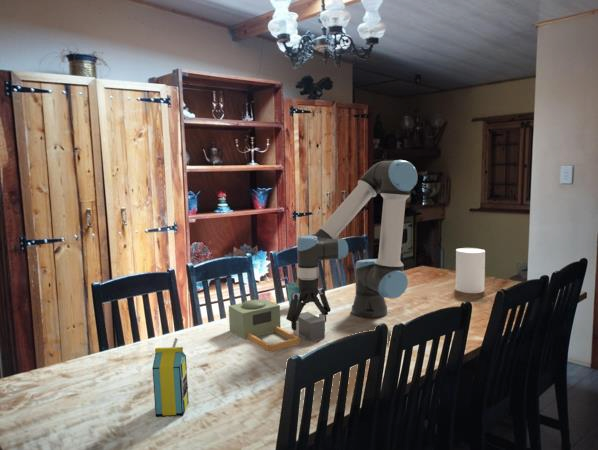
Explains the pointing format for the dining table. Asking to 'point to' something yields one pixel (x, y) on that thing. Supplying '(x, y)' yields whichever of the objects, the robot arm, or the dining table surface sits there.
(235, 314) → the green box with frame
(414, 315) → the dining table surface
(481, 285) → the canister
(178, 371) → the carton
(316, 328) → the grey concrete block
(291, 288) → the cup
